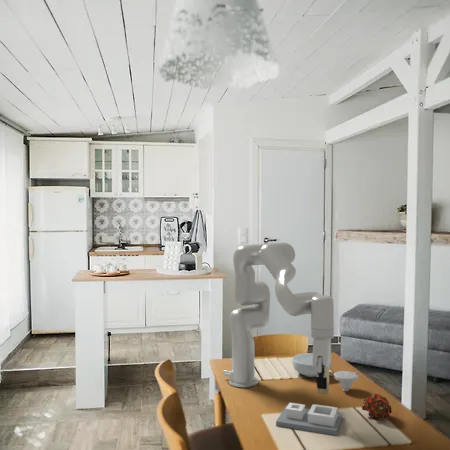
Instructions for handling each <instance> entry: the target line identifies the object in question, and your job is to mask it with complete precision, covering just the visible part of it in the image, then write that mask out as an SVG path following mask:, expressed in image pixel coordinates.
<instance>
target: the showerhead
mask: <svg viewBox="0 0 450 450" xmlns="http://www.w3.org/2000/svg"><path fill="white" fill-rule="evenodd" d="M333 378H334V379H335V381H339V386H340V387H342V390H343V391H344V392H349V390H350V389H349V388H351V387H353V383H354V382H357V381H358V379H359V372H358V371H355V372H354V371H349V370H348V371H347V370H338V371H335V372H334V373H333Z"/></svg>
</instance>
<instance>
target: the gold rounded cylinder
mask: <svg viewBox="0 0 450 450" xmlns="http://www.w3.org/2000/svg"><path fill="white" fill-rule="evenodd" d="M323 368H324V367H323ZM322 371H323V372H324V370H322ZM326 377H327V389H318V388H317V387H316V389H317V391H316V392H317V393H319V394H321V395H328V394H330V369H329V368H328V367H327V368H326Z"/></svg>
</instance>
